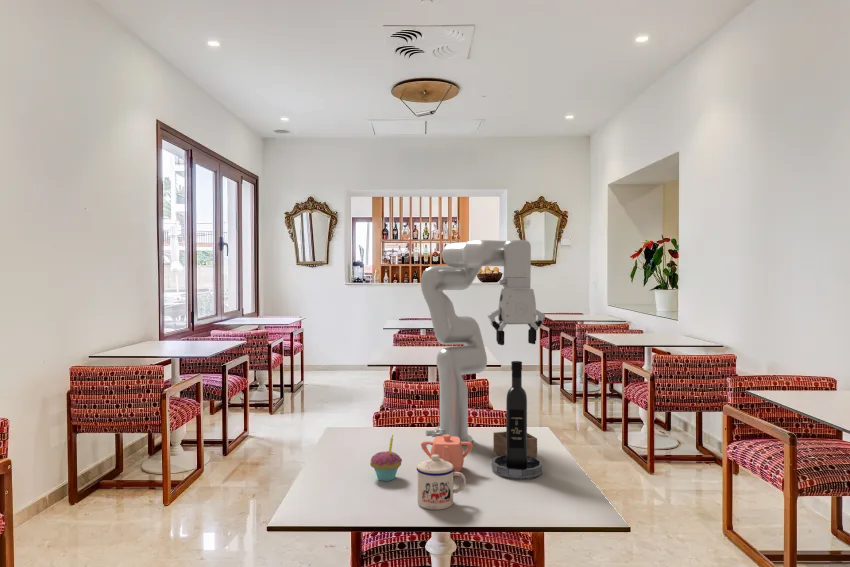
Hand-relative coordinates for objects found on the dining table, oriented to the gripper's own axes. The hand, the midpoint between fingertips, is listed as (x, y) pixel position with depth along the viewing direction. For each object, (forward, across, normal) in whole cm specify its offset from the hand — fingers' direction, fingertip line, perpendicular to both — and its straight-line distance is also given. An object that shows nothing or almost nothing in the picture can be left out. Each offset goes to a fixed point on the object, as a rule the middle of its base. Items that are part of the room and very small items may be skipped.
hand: (516, 344), depth 163 cm
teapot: (+36, -19, +5) cm, 41 cm away
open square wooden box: (+36, +6, +13) cm, 39 cm away
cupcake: (+36, -37, +4) cm, 52 cm away
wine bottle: (+35, 0, -1) cm, 35 cm away
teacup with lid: (+36, -28, -17) cm, 49 cm away
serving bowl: (+36, 0, -1) cm, 36 cm away
